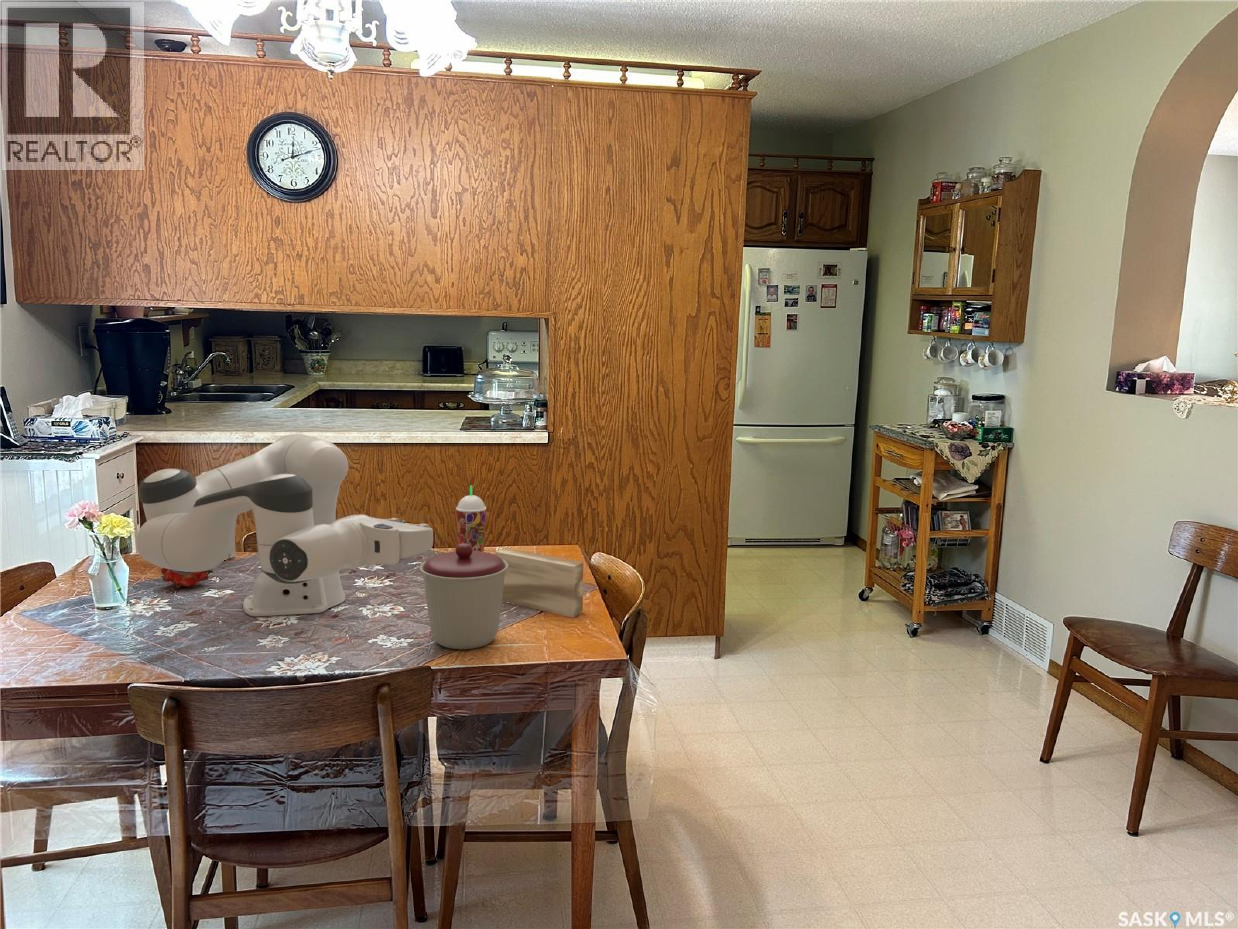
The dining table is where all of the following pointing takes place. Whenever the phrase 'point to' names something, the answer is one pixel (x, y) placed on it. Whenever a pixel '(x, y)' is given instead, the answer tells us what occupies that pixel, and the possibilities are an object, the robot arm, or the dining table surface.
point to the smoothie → (471, 521)
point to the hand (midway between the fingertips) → (412, 525)
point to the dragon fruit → (184, 578)
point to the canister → (464, 596)
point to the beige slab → (543, 582)
